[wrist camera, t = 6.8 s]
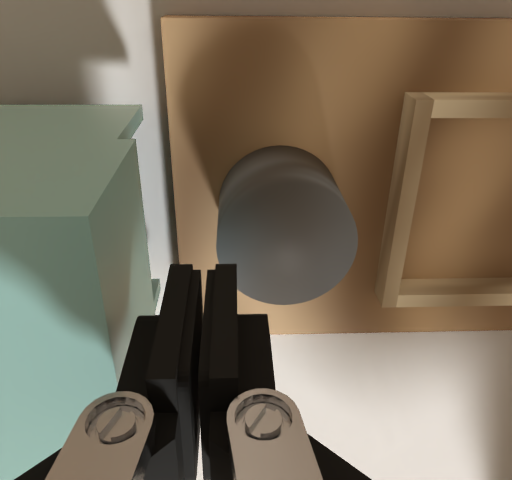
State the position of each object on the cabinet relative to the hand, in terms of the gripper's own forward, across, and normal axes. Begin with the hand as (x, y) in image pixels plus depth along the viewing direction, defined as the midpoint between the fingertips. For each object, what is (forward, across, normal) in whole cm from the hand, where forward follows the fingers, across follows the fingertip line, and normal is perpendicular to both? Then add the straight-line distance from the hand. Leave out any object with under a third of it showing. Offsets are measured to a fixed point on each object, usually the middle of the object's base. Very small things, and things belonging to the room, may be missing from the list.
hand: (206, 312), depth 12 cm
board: (+8, -7, 0) cm, 11 cm away
